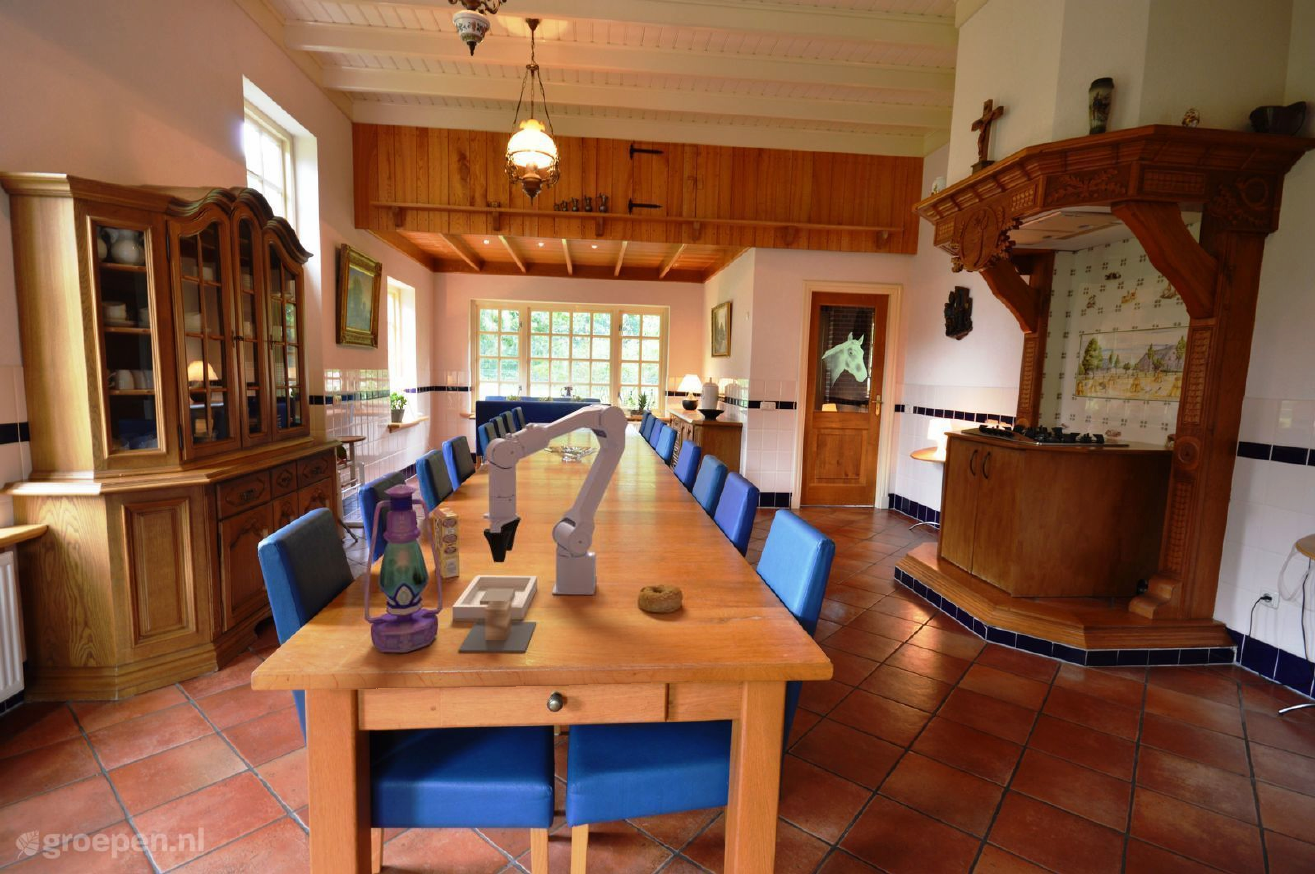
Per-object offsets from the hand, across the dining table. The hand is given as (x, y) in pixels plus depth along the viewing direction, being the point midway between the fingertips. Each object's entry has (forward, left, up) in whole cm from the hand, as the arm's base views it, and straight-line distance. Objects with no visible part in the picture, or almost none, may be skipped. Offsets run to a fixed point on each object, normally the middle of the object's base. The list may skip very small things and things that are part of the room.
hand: (503, 555), depth 130 cm
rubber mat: (-3, +17, -10) cm, 20 cm away
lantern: (+14, +19, -11) cm, 26 cm away
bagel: (-34, +1, -11) cm, 36 cm away
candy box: (+18, -18, -11) cm, 28 cm away
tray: (+1, +1, -10) cm, 10 cm away
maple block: (-3, +17, -10) cm, 20 cm away
